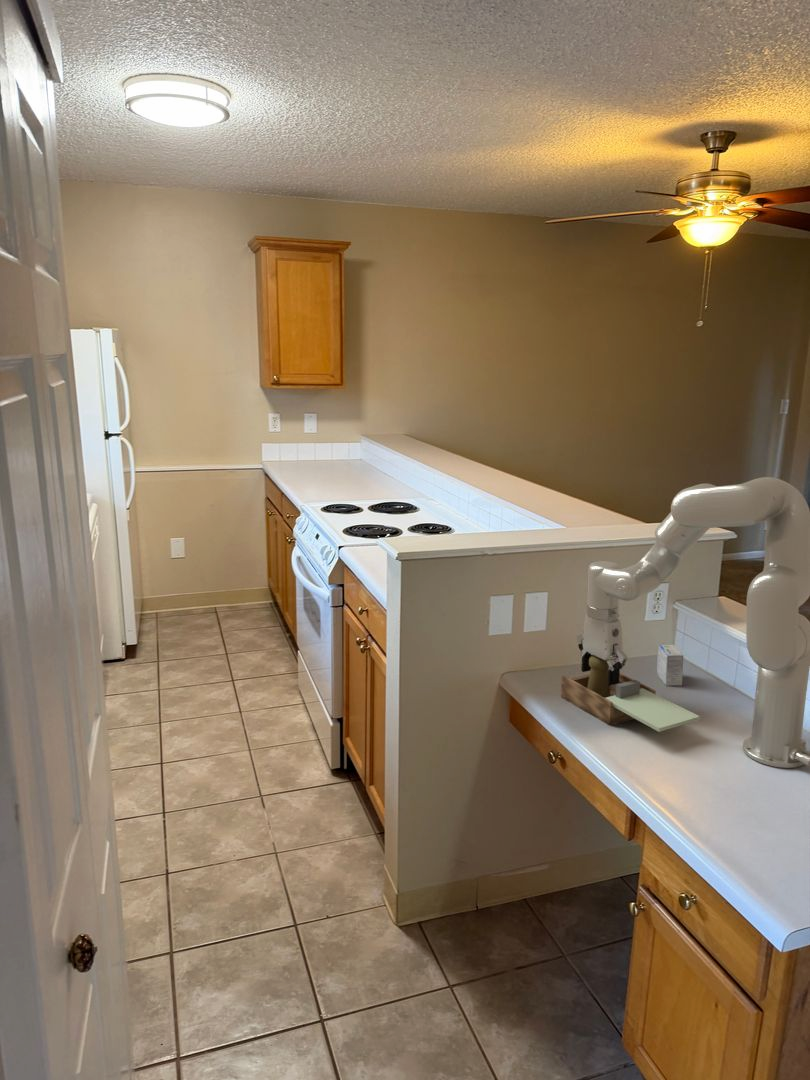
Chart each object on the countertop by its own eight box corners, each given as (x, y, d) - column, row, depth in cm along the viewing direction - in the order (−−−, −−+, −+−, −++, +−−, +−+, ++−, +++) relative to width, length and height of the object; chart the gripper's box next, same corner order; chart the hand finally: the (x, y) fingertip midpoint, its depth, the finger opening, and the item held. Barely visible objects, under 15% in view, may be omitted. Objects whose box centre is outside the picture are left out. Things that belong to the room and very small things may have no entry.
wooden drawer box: (654, 713, 182) (655, 690, 181) (609, 725, 176) (610, 702, 175) (603, 686, 198) (604, 665, 197) (561, 697, 192) (561, 675, 191)
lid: (699, 719, 168) (700, 704, 168) (658, 731, 163) (659, 715, 162) (642, 691, 184) (643, 676, 183) (603, 701, 179) (604, 686, 178)
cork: (581, 693, 192) (583, 652, 190) (603, 691, 193) (605, 650, 191) (592, 703, 186) (593, 661, 184) (614, 700, 188) (616, 659, 185)
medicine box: (682, 686, 198) (684, 655, 196) (665, 686, 198) (667, 655, 196) (672, 674, 205) (674, 644, 204) (656, 674, 206) (657, 644, 204)
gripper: (639, 619, 179) (636, 686, 182) (591, 600, 194) (588, 663, 198) (615, 624, 176) (612, 692, 179) (567, 605, 191) (565, 668, 194)
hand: (599, 677), depth 188 cm, fingers open, 9 cm apart
